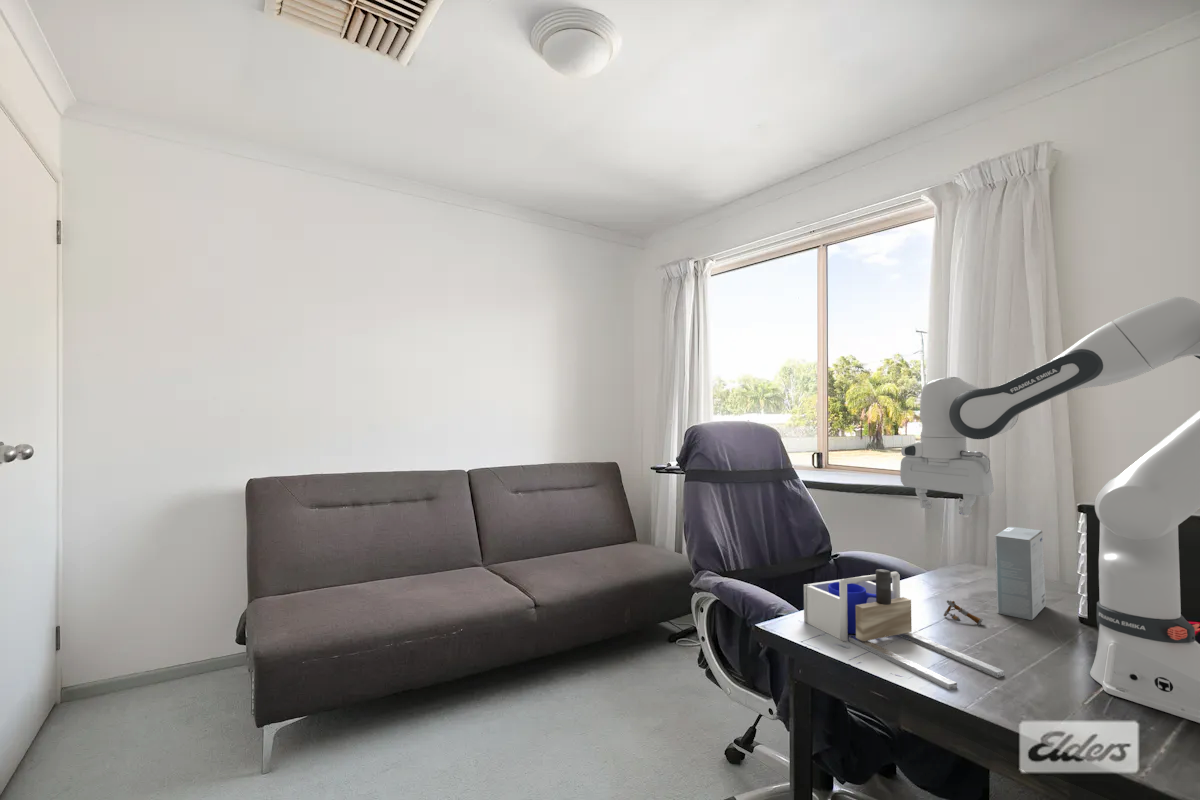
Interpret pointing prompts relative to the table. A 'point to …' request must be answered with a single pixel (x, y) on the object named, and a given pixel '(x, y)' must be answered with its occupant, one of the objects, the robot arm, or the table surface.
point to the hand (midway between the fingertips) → (944, 511)
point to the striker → (883, 612)
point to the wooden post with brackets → (964, 612)
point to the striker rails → (922, 670)
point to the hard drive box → (1020, 572)
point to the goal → (838, 603)
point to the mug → (852, 601)
